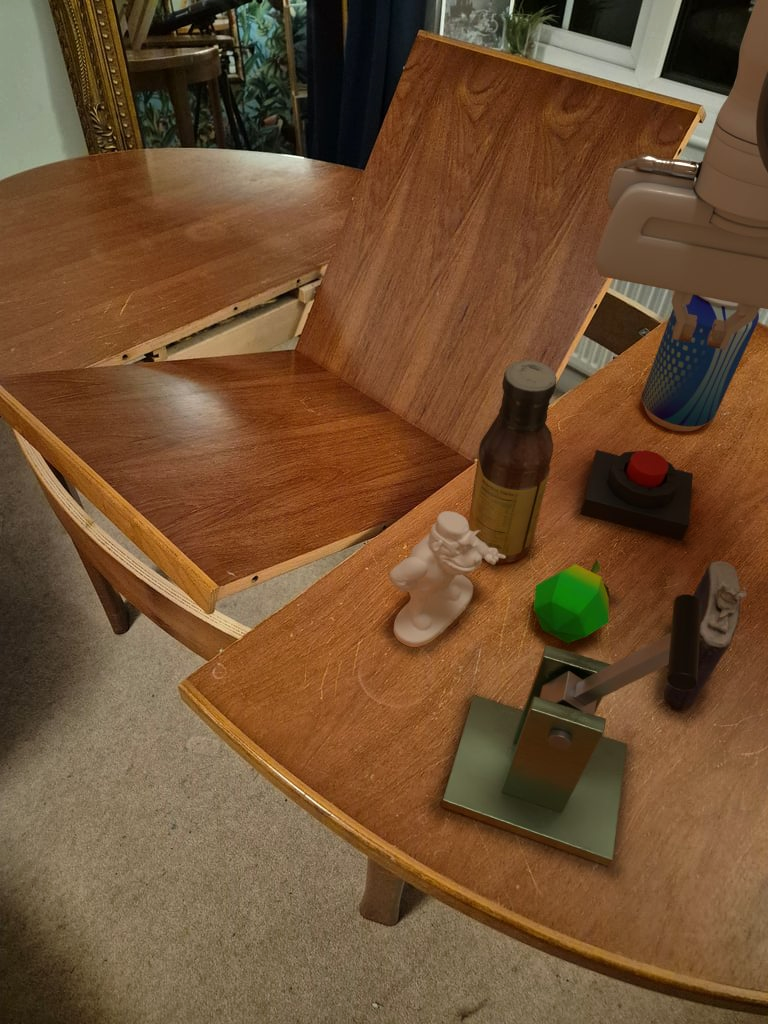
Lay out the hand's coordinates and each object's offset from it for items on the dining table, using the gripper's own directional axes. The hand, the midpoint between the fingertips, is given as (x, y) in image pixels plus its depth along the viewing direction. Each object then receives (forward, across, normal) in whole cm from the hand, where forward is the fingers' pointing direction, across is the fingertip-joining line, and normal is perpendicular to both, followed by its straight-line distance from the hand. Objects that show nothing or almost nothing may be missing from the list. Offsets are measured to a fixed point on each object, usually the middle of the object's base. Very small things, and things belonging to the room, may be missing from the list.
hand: (698, 341), depth 63 cm
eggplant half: (+19, +6, -19) cm, 28 cm away
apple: (+19, -4, -17) cm, 26 cm away
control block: (+19, 0, 0) cm, 19 cm away
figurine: (+19, -15, -21) cm, 32 cm away
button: (+15, 0, 0) cm, 15 cm away
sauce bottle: (+19, -12, -11) cm, 25 cm away
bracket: (+19, -4, -33) cm, 38 cm away
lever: (+4, -1, -33) cm, 33 cm away
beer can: (+19, +3, +17) cm, 26 cm away
